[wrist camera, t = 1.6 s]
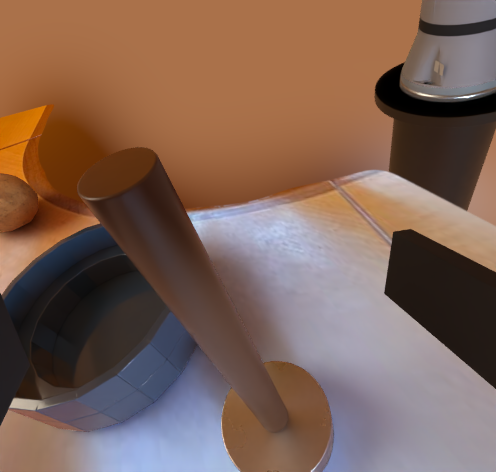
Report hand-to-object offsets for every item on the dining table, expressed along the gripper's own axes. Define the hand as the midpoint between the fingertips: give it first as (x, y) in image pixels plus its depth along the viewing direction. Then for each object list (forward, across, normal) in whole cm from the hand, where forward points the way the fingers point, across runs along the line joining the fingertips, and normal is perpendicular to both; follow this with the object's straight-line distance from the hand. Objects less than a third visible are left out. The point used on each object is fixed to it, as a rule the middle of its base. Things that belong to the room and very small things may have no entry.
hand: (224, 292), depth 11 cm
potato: (+44, -24, -10) cm, 51 cm away
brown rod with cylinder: (+5, +4, -15) cm, 16 cm away
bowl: (+18, -8, -14) cm, 24 cm away
